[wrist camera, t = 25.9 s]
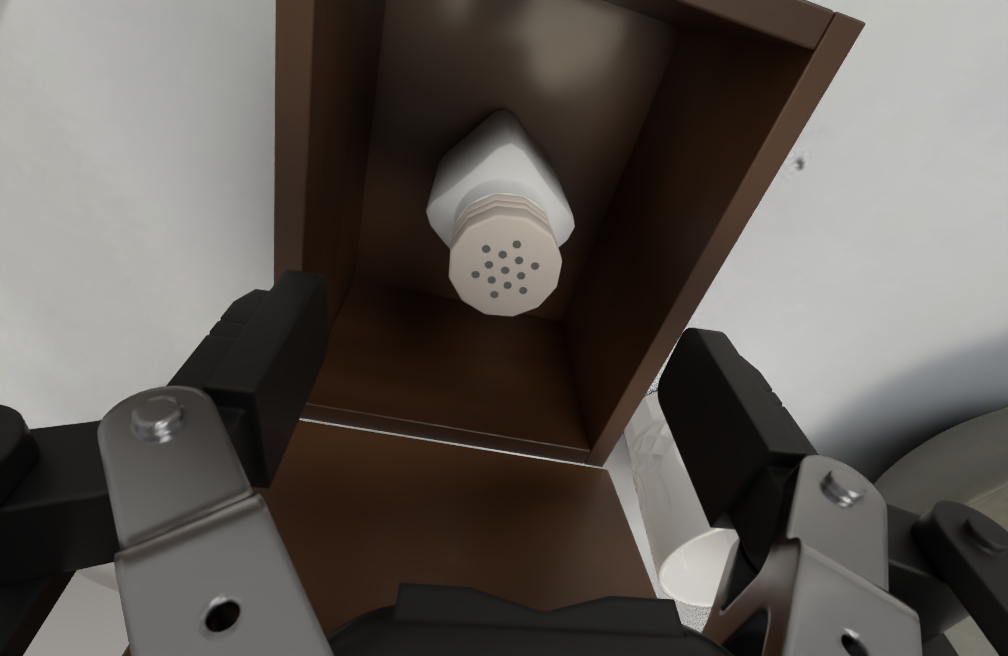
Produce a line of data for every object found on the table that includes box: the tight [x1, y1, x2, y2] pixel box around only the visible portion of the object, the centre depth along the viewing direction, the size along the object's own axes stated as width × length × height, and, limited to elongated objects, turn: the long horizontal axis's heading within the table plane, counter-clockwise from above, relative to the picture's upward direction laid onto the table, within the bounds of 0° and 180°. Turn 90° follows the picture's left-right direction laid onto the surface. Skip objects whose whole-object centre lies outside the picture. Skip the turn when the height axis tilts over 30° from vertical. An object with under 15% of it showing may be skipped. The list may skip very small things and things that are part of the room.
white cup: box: [624, 391, 738, 607], centre depth 28 cm, size 8×8×10 cm
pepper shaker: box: [426, 109, 575, 317], centre depth 17 cm, size 4×4×10 cm
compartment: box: [274, 0, 865, 467], centre depth 18 cm, size 16×13×10 cm
